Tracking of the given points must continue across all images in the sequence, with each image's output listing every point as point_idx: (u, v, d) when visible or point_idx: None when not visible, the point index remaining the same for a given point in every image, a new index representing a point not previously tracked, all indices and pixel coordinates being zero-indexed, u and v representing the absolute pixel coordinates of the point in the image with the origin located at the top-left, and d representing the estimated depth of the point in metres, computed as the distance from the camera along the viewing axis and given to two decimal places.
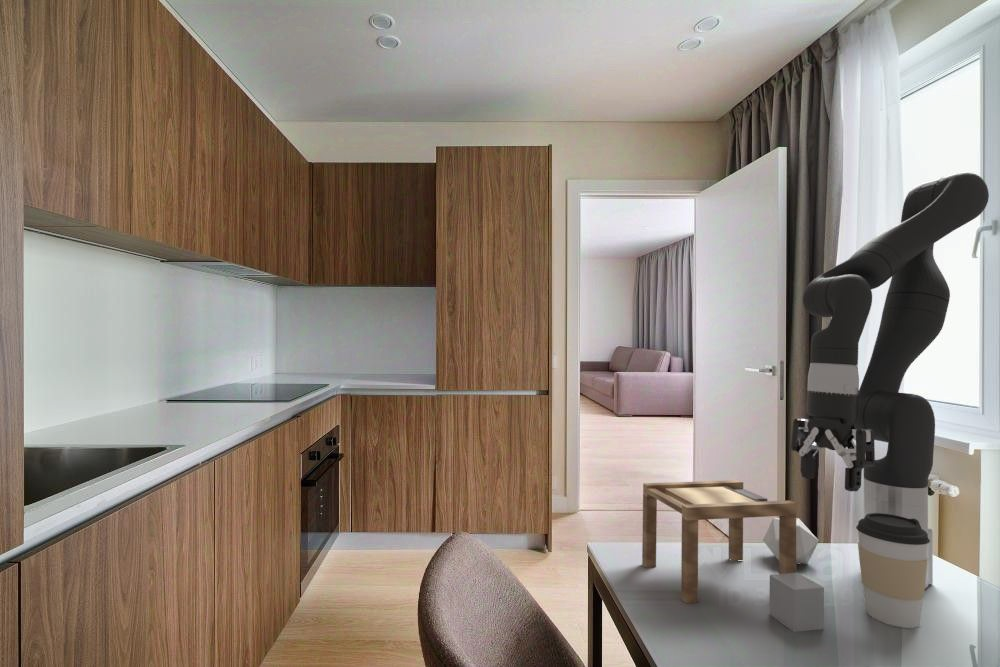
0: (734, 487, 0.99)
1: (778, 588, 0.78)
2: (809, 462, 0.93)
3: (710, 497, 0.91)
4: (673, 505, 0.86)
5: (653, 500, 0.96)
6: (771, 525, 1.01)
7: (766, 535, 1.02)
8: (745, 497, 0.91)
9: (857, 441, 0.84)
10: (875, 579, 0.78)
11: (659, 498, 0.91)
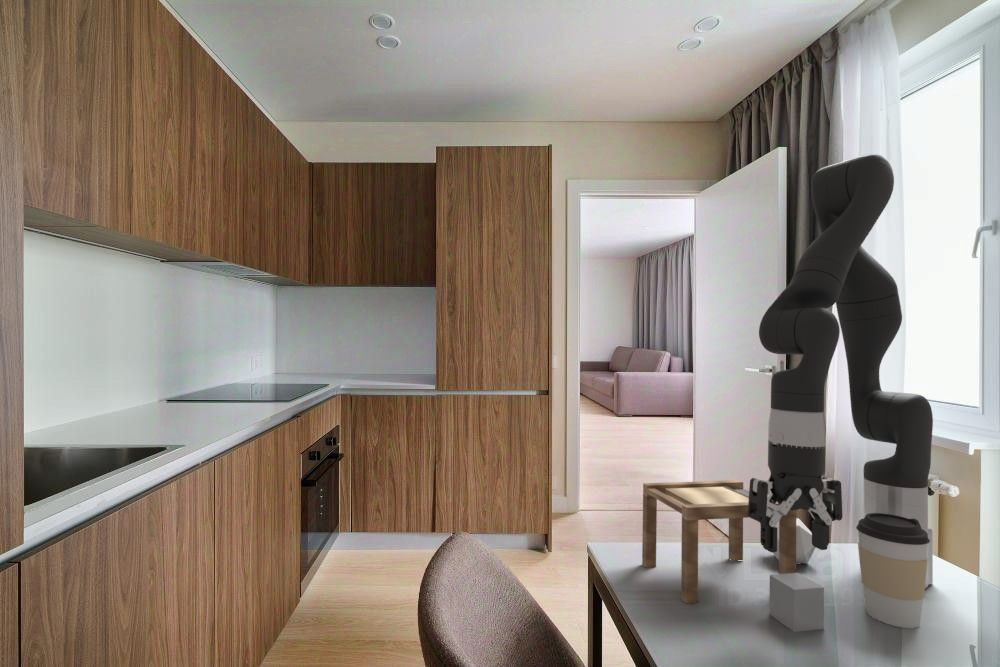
0: (734, 487, 0.99)
1: (778, 588, 0.78)
2: None
3: (710, 497, 0.91)
4: (673, 505, 0.86)
5: (653, 500, 0.96)
6: None
7: None
8: (745, 497, 0.91)
9: (836, 494, 0.78)
10: (875, 579, 0.78)
11: (659, 498, 0.91)
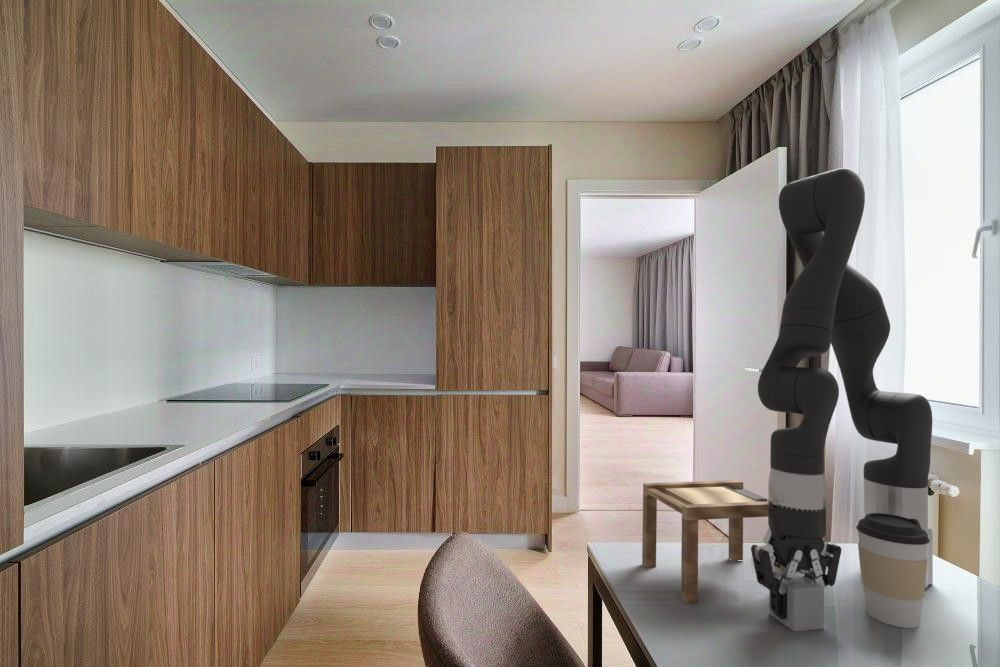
0: (734, 487, 0.99)
1: None
2: None
3: (710, 497, 0.91)
4: (673, 505, 0.86)
5: (653, 500, 0.96)
6: None
7: (766, 535, 1.02)
8: (745, 497, 0.91)
9: (834, 559, 0.77)
10: (875, 579, 0.78)
11: (659, 498, 0.91)
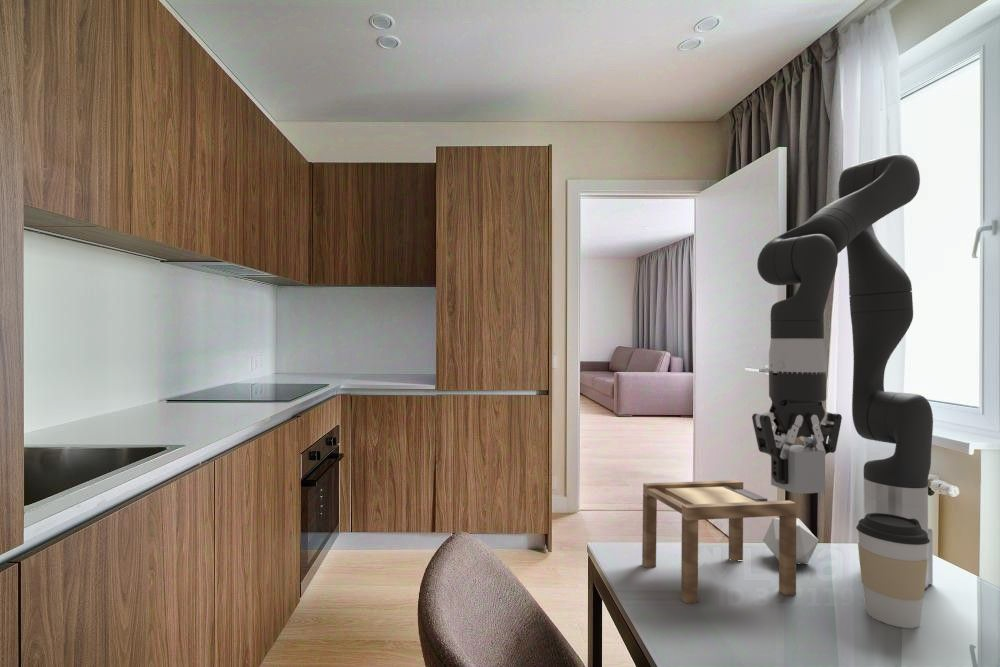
0: (734, 487, 0.99)
1: None
2: None
3: (710, 497, 0.91)
4: (673, 505, 0.86)
5: (653, 500, 0.96)
6: (771, 525, 1.01)
7: (766, 535, 1.02)
8: (745, 497, 0.91)
9: (834, 426, 0.78)
10: (875, 579, 0.78)
11: (659, 498, 0.91)
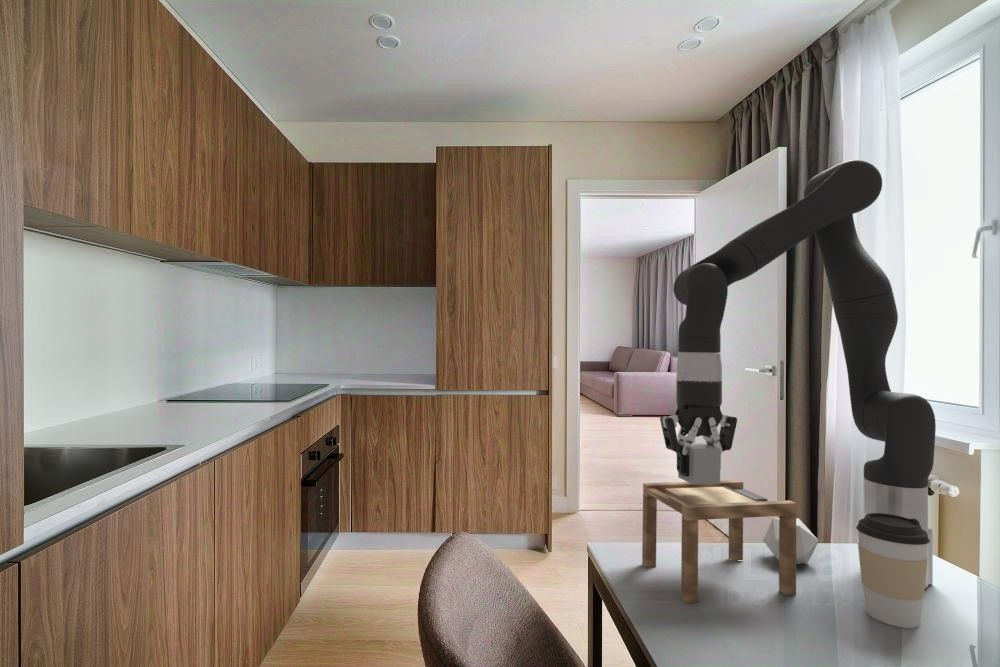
0: (734, 487, 0.99)
1: None
2: None
3: (710, 497, 0.91)
4: (673, 505, 0.86)
5: (653, 500, 0.96)
6: (771, 525, 1.01)
7: (766, 535, 1.02)
8: (745, 497, 0.91)
9: (730, 427, 0.91)
10: (875, 579, 0.78)
11: (659, 498, 0.91)
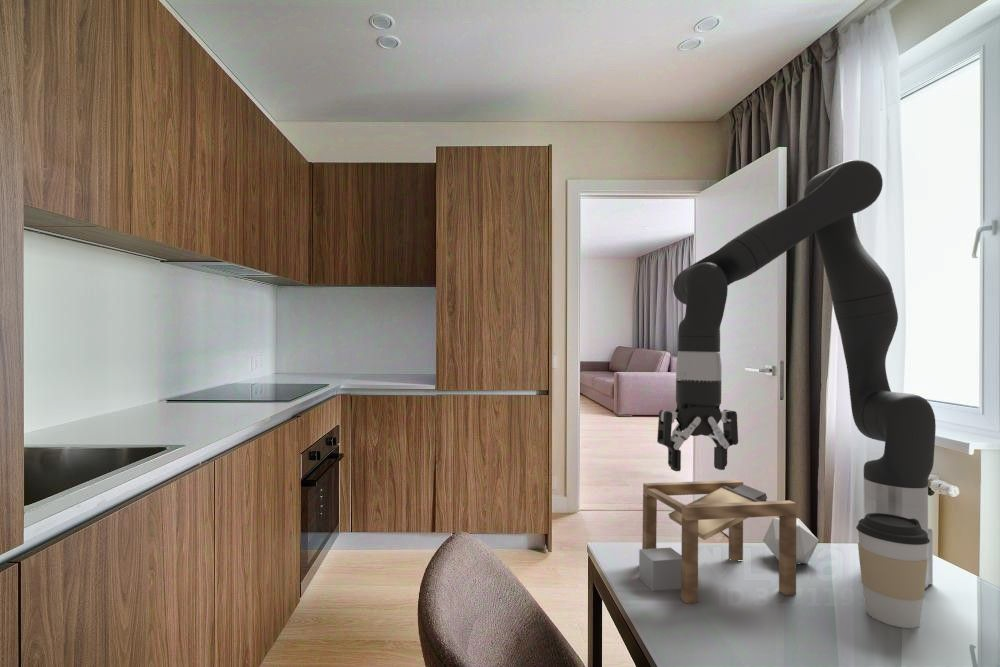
0: (734, 487, 0.99)
1: None
2: None
3: None
4: (673, 505, 0.86)
5: (653, 500, 0.96)
6: (771, 525, 1.01)
7: (766, 535, 1.02)
8: (744, 499, 0.91)
9: (732, 422, 0.91)
10: (875, 579, 0.78)
11: (659, 498, 0.91)
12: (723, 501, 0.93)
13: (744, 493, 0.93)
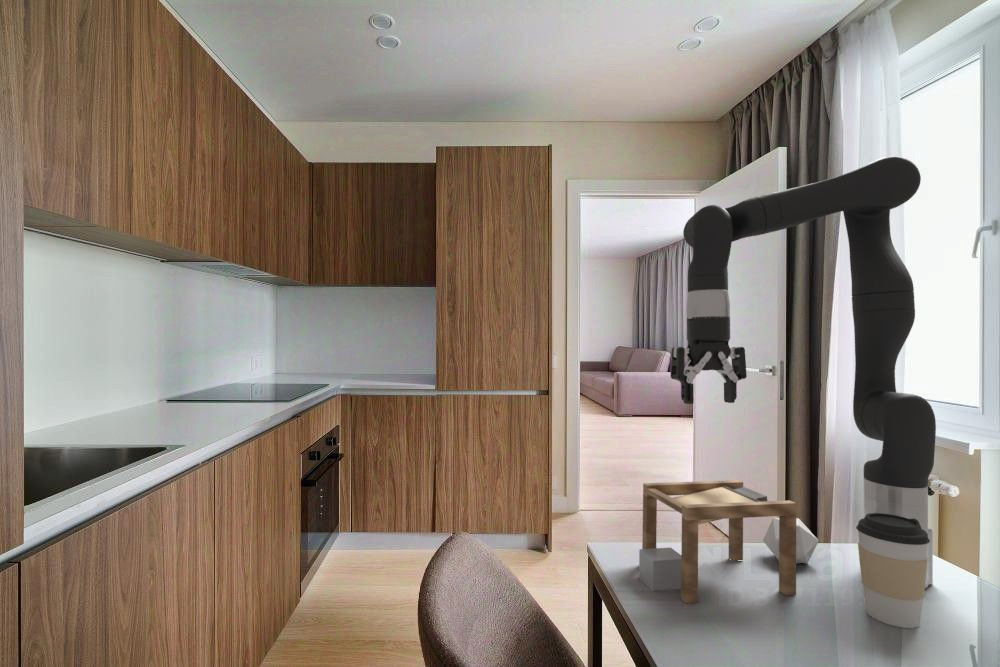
0: (734, 487, 0.99)
1: None
2: None
3: None
4: (673, 505, 0.86)
5: (653, 500, 0.96)
6: (771, 525, 1.01)
7: (766, 535, 1.02)
8: (745, 498, 0.91)
9: (741, 357, 0.96)
10: (875, 579, 0.78)
11: (659, 498, 0.91)
12: (722, 497, 0.93)
13: (745, 493, 0.93)
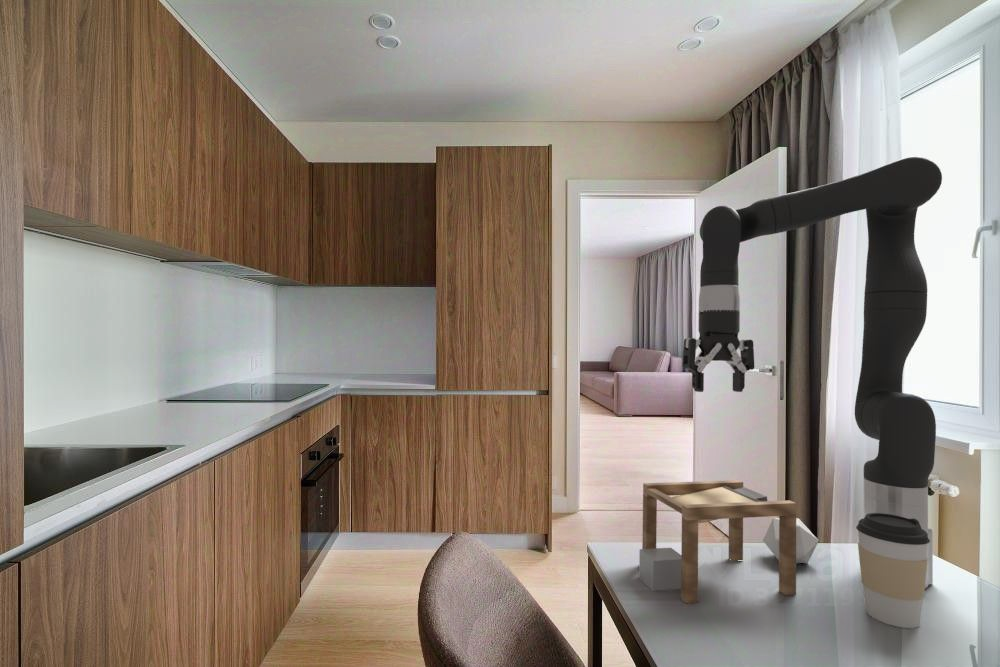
0: (734, 487, 0.99)
1: None
2: None
3: (710, 503, 0.90)
4: (673, 505, 0.86)
5: (653, 500, 0.96)
6: (771, 525, 1.01)
7: (766, 535, 1.02)
8: (745, 498, 0.91)
9: (749, 349, 1.03)
10: (875, 579, 0.78)
11: (659, 498, 0.91)
12: (722, 496, 0.93)
13: (745, 493, 0.93)
